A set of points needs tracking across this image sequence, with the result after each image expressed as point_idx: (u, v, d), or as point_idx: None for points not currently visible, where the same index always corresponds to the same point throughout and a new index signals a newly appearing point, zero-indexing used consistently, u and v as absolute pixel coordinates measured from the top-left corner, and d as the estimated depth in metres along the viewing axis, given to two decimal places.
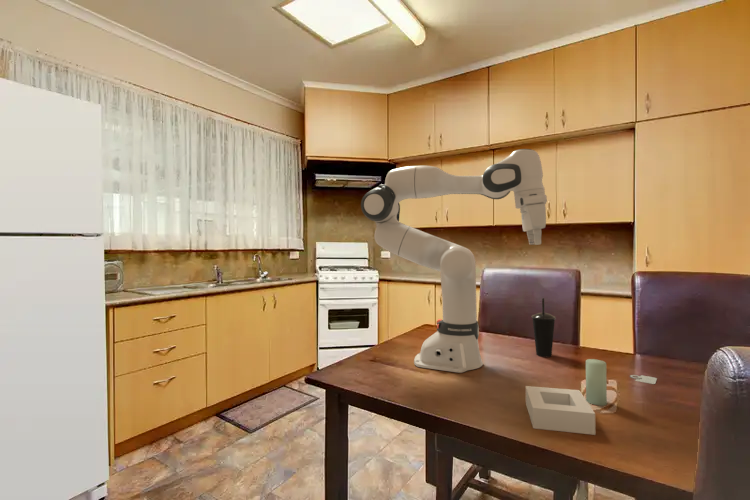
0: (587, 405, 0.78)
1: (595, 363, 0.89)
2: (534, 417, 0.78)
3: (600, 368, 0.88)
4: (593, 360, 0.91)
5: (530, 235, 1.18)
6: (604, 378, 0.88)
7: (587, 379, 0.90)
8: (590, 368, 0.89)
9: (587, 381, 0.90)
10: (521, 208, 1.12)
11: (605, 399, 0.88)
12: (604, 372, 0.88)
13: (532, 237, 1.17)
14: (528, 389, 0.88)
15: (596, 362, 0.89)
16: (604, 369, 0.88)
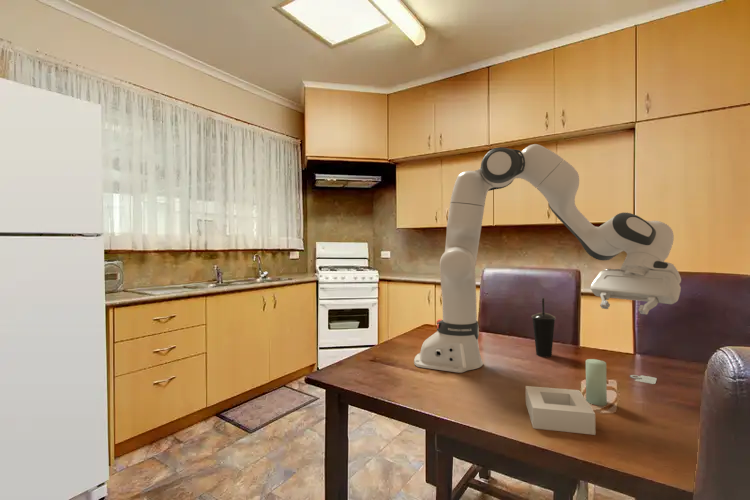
0: (587, 405, 0.78)
1: (595, 363, 0.89)
2: (534, 417, 0.78)
3: (600, 368, 0.88)
4: (593, 360, 0.91)
5: (604, 298, 1.01)
6: (604, 378, 0.88)
7: (587, 379, 0.90)
8: (590, 368, 0.89)
9: (587, 381, 0.90)
10: (638, 269, 0.97)
11: (605, 399, 0.88)
12: (604, 372, 0.88)
13: (605, 301, 1.01)
14: (528, 389, 0.88)
15: (596, 362, 0.89)
16: (604, 369, 0.88)
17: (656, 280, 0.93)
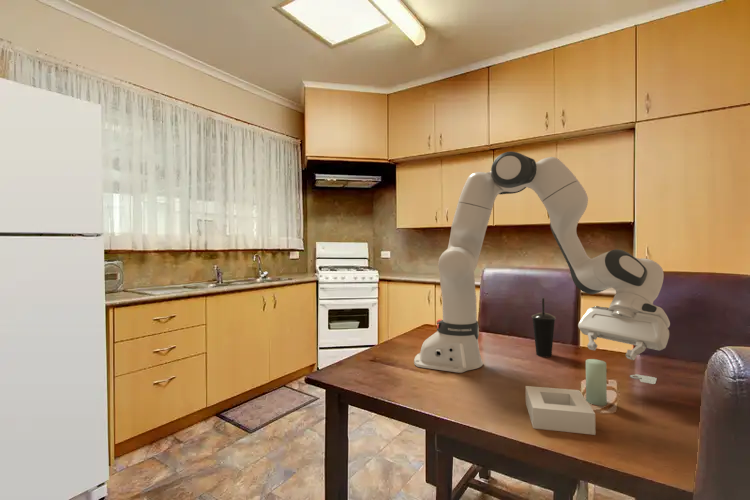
0: (587, 405, 0.78)
1: (595, 363, 0.89)
2: (534, 417, 0.78)
3: (600, 368, 0.88)
4: (593, 360, 0.91)
5: (592, 338, 0.98)
6: (604, 378, 0.88)
7: (587, 379, 0.90)
8: (590, 368, 0.89)
9: (587, 381, 0.90)
10: (626, 310, 0.95)
11: (605, 399, 0.88)
12: (604, 372, 0.88)
13: (593, 341, 0.98)
14: (528, 389, 0.88)
15: (596, 362, 0.89)
16: (604, 369, 0.88)
17: (644, 324, 0.90)
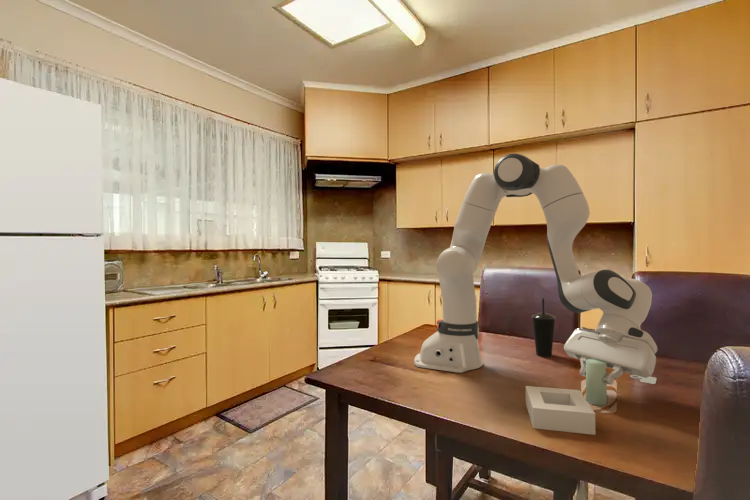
0: (587, 405, 0.78)
1: (595, 363, 0.89)
2: (534, 417, 0.78)
3: (600, 368, 0.88)
4: (593, 360, 0.91)
5: (584, 363, 0.94)
6: None
7: (587, 379, 0.90)
8: (590, 368, 0.89)
9: (587, 381, 0.90)
10: (612, 334, 0.91)
11: (605, 399, 0.88)
12: (604, 372, 0.88)
13: (585, 367, 0.93)
14: (528, 389, 0.88)
15: (596, 362, 0.89)
16: (604, 369, 0.88)
17: (630, 349, 0.87)
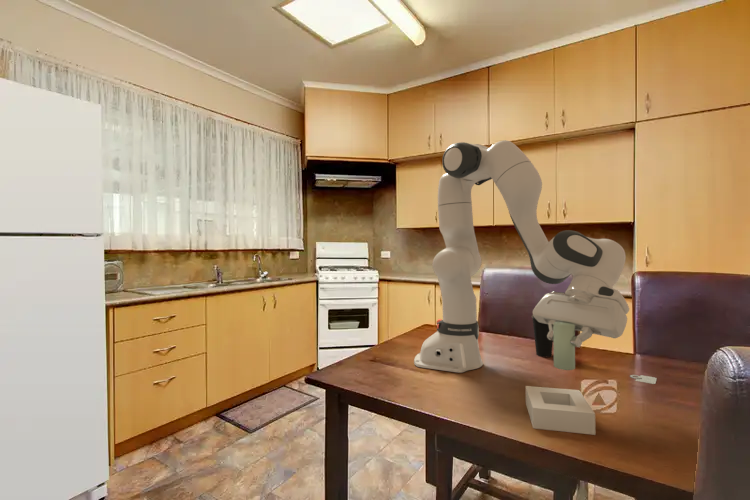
0: (587, 405, 0.78)
1: (563, 325, 0.82)
2: (534, 417, 0.78)
3: (567, 329, 0.81)
4: (561, 322, 0.84)
5: (552, 327, 0.87)
6: None
7: (555, 342, 0.83)
8: (557, 330, 0.82)
9: (554, 344, 0.83)
10: (582, 295, 0.85)
11: (573, 363, 0.82)
12: (572, 334, 0.81)
13: None
14: (528, 389, 0.88)
15: (564, 324, 0.83)
16: (572, 331, 0.81)
17: (600, 309, 0.81)
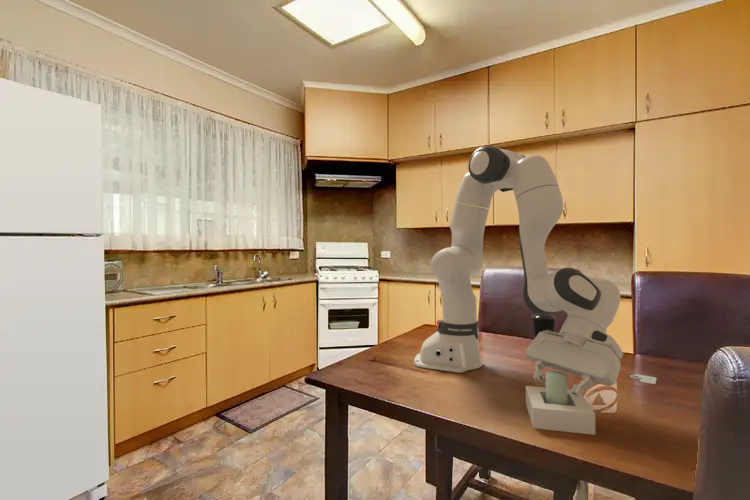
0: (587, 405, 0.78)
1: (555, 376, 0.81)
2: (534, 417, 0.78)
3: (559, 381, 0.80)
4: (554, 372, 0.83)
5: (539, 367, 0.88)
6: (564, 392, 0.80)
7: (547, 393, 0.82)
8: (549, 382, 0.81)
9: (547, 395, 0.82)
10: (575, 338, 0.84)
11: None
12: (564, 386, 0.80)
13: (540, 371, 0.87)
14: (528, 389, 0.88)
15: (556, 375, 0.82)
16: (564, 383, 0.80)
17: (593, 354, 0.80)
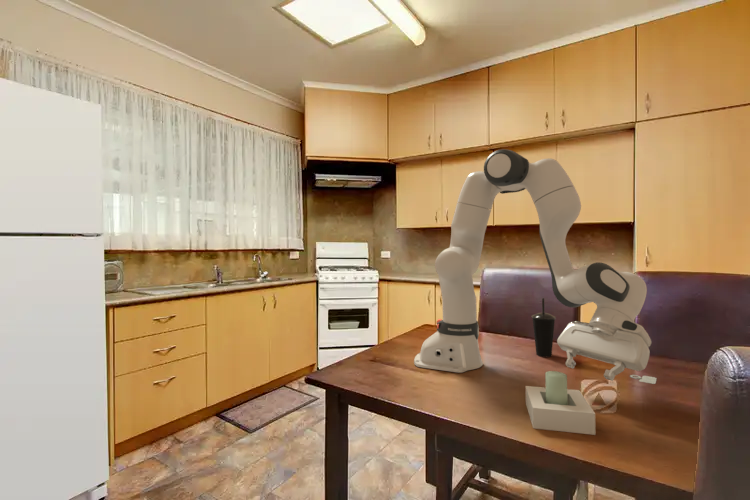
0: (587, 405, 0.78)
1: (554, 376, 0.81)
2: (534, 417, 0.78)
3: (559, 381, 0.80)
4: (553, 372, 0.83)
5: (570, 355, 0.94)
6: (564, 392, 0.80)
7: (547, 393, 0.82)
8: (549, 382, 0.81)
9: (547, 395, 0.82)
10: (606, 327, 0.90)
11: None
12: (564, 386, 0.80)
13: (572, 359, 0.94)
14: (528, 389, 0.88)
15: (556, 375, 0.82)
16: (564, 382, 0.80)
17: (624, 342, 0.86)
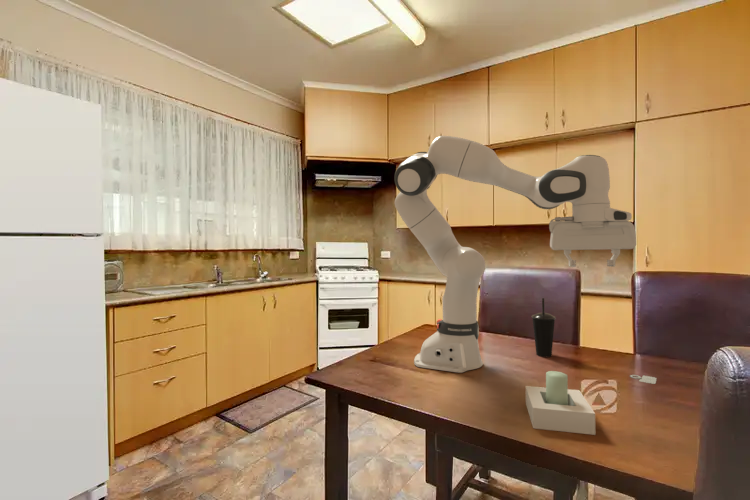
0: (587, 405, 0.78)
1: (555, 376, 0.81)
2: (534, 417, 0.78)
3: (560, 381, 0.80)
4: (554, 372, 0.83)
5: None
6: (565, 392, 0.80)
7: (547, 393, 0.82)
8: (550, 381, 0.81)
9: (547, 395, 0.82)
10: (598, 222, 0.95)
11: None
12: (565, 386, 0.80)
13: None
14: (528, 389, 0.88)
15: (557, 375, 0.82)
16: (565, 383, 0.80)
17: (616, 230, 0.95)
